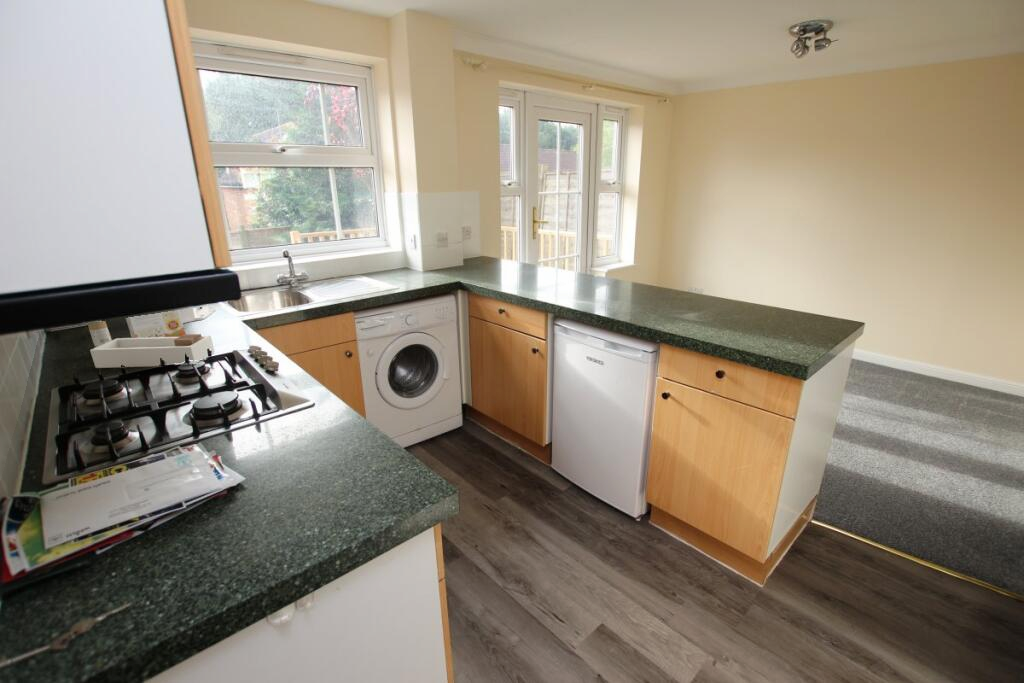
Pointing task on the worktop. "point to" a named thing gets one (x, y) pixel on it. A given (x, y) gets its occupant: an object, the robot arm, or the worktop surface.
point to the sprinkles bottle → (99, 333)
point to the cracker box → (156, 325)
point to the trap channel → (147, 351)
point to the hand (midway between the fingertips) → (129, 263)
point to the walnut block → (187, 339)
